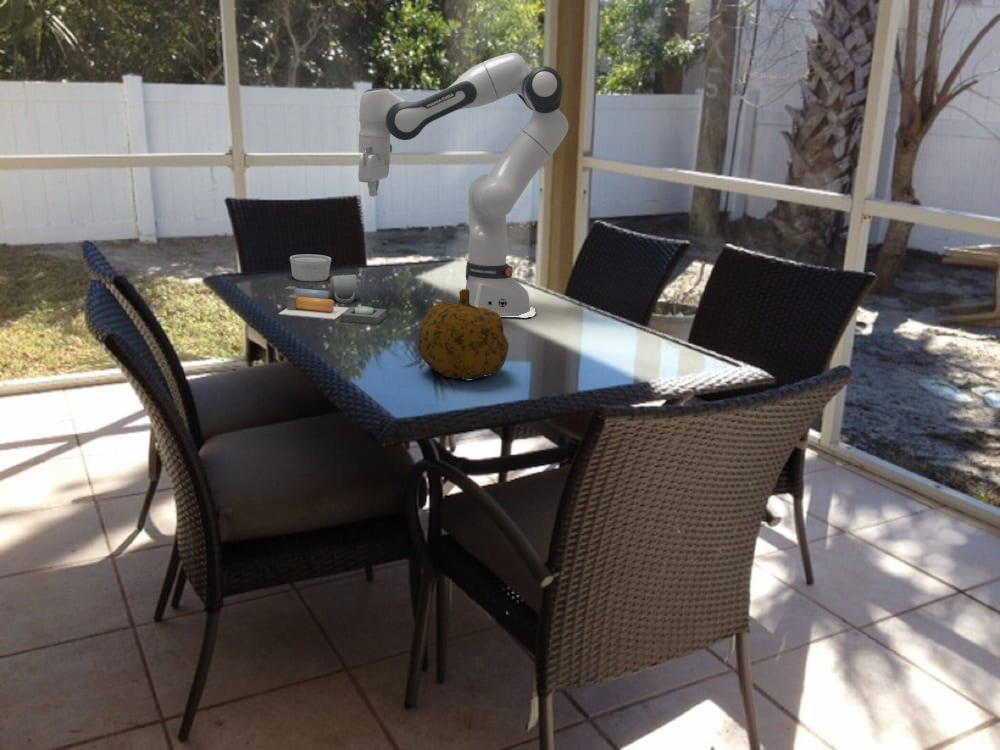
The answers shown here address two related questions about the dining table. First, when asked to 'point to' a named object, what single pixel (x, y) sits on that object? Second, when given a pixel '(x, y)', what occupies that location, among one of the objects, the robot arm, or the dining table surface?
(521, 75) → the robot arm
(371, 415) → the dining table surface
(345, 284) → the ceramic mug
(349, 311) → the button base
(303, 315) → the paper
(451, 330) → the decorative pumpkin
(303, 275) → the ramekin
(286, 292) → the marker blue
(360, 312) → the button
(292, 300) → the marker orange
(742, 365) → the dining table surface
